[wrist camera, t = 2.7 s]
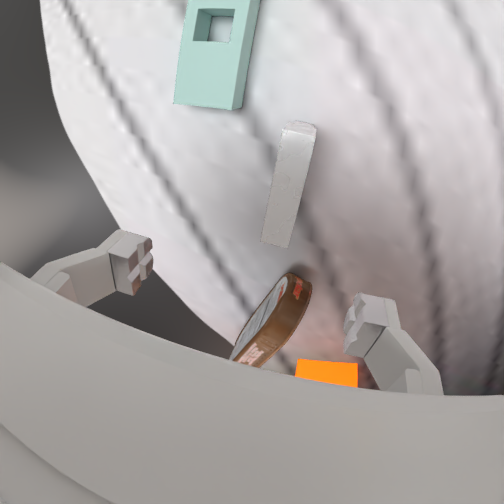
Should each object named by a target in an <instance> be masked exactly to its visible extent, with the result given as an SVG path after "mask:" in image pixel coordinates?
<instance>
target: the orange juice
mask: <svg viewBox="0 0 504 504" xmlns="http://www.w3.org/2000/svg"><path fill="white" fill-rule="evenodd" d="M295 377H300V378H305V379H310V380H315V381H320V382H326V383H332V384H338V385H344V386H350V387H357V363H339V362H326V361H314V360H304V359H298V363H297V369H296V375H295Z"/></svg>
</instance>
